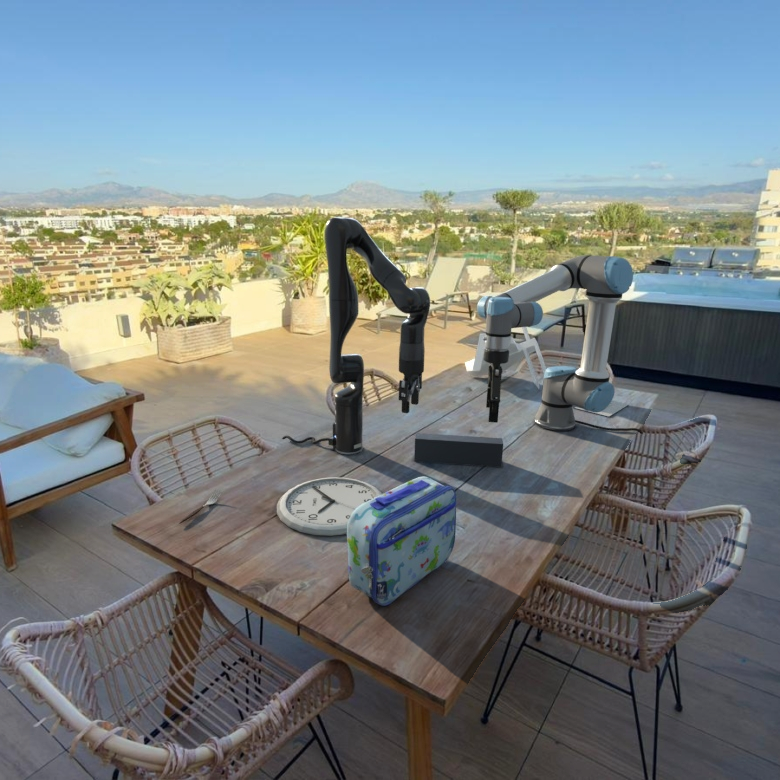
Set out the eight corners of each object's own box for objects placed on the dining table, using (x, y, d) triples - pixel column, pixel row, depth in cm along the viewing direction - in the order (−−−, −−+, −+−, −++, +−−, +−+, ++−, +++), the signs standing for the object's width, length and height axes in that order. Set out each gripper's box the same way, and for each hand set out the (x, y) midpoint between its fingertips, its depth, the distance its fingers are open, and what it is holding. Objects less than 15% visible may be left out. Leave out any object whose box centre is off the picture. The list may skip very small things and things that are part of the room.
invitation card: (608, 416, 214) (573, 407, 224) (608, 416, 214) (573, 408, 224) (628, 404, 229) (594, 396, 238) (628, 405, 229) (594, 397, 238)
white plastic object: (486, 418, 267) (465, 395, 242) (467, 346, 289) (447, 318, 264) (556, 394, 255) (543, 367, 230) (531, 321, 277) (516, 289, 252)
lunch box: (376, 619, 101) (377, 524, 95) (340, 592, 109) (339, 502, 102) (459, 562, 119) (465, 479, 113) (424, 542, 126) (427, 463, 120)
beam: (500, 460, 172) (502, 438, 170) (501, 467, 167) (503, 444, 165) (415, 455, 175) (416, 432, 173) (414, 461, 171) (415, 438, 168)
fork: (175, 524, 132) (174, 517, 132) (215, 495, 146) (215, 489, 146) (183, 526, 131) (182, 519, 131) (223, 497, 146) (222, 490, 145)
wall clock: (392, 527, 129) (268, 531, 127) (391, 533, 130) (269, 537, 127) (383, 473, 158) (282, 475, 155) (383, 478, 158) (282, 480, 156)
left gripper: (407, 350, 162) (406, 400, 167) (391, 360, 149) (390, 413, 154) (430, 352, 159) (428, 403, 164) (415, 363, 147) (414, 417, 151)
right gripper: (482, 339, 171) (478, 401, 178) (486, 357, 148) (481, 427, 154) (505, 340, 170) (500, 402, 177) (513, 359, 147) (507, 429, 153)
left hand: (410, 408), depth 159 cm, fingers open, 8 cm apart
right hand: (491, 414), depth 165 cm, fingers open, 13 cm apart
